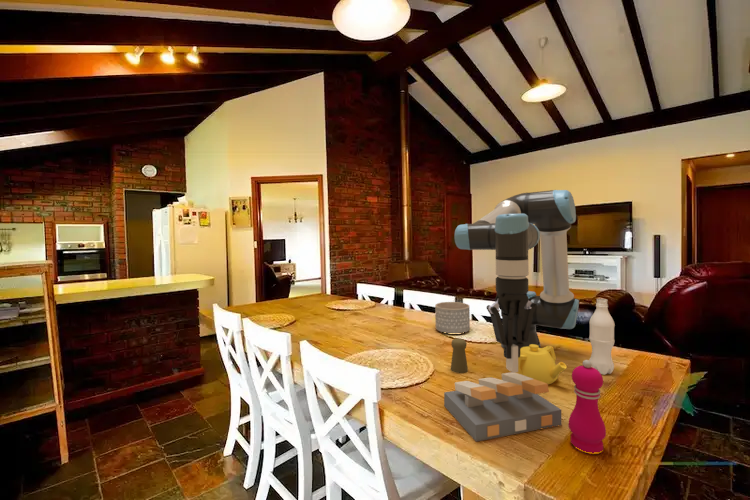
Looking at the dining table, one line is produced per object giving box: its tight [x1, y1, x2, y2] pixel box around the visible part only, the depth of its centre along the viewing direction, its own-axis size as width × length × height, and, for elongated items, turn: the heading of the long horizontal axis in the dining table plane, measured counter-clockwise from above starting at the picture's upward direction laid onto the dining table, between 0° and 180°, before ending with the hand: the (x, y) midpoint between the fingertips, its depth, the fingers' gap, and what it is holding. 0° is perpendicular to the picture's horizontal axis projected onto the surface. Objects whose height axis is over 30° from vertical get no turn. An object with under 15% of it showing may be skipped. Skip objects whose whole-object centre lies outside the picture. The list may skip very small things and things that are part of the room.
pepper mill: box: [568, 359, 607, 453], centre depth 77 cm, size 7×7×20 cm
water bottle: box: [588, 298, 616, 376], centre depth 116 cm, size 7×7×25 cm
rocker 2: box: [478, 377, 523, 396], centre depth 91 cm, size 4×14×2 cm, turn 14°
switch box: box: [443, 389, 562, 442], centre depth 91 cm, size 24×17×6 cm
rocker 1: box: [454, 380, 496, 400], centre depth 89 cm, size 4×14×2 cm, turn 14°
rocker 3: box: [501, 371, 550, 395], centre depth 93 cm, size 4×14×2 cm, turn 14°
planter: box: [434, 301, 471, 334], centre depth 168 cm, size 16×16×13 cm
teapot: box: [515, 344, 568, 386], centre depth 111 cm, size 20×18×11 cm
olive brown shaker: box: [450, 338, 469, 374], centre depth 121 cm, size 6×6×11 cm
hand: (512, 370), depth 85 cm, fingers closed
